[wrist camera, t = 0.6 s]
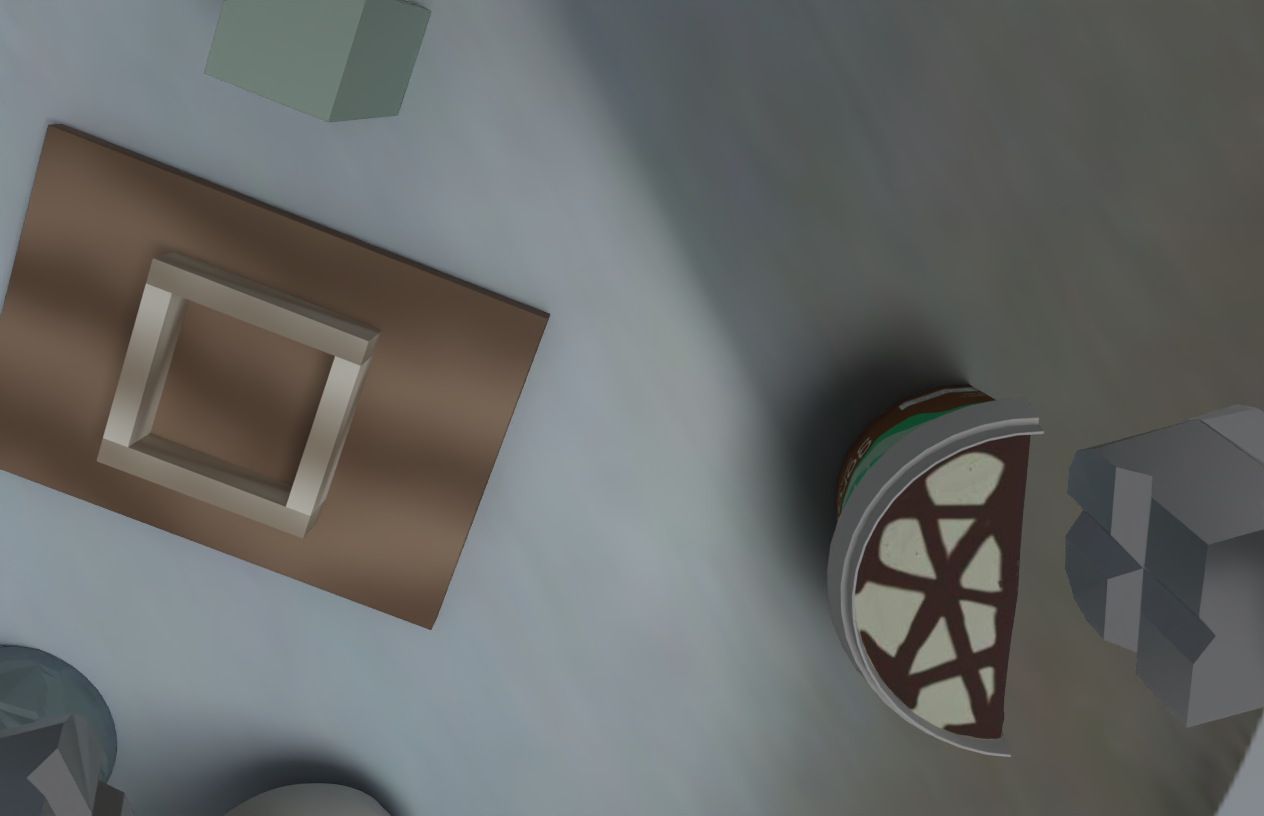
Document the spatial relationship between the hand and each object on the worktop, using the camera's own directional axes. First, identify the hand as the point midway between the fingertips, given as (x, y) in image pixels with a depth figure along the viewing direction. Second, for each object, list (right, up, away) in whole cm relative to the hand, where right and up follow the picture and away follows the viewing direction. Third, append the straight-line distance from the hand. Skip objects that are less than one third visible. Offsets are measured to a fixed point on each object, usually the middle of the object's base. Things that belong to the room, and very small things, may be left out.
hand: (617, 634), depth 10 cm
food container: (+10, -2, +39) cm, 40 cm away
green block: (-10, +15, +35) cm, 40 cm away
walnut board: (-15, +3, +39) cm, 42 cm away
